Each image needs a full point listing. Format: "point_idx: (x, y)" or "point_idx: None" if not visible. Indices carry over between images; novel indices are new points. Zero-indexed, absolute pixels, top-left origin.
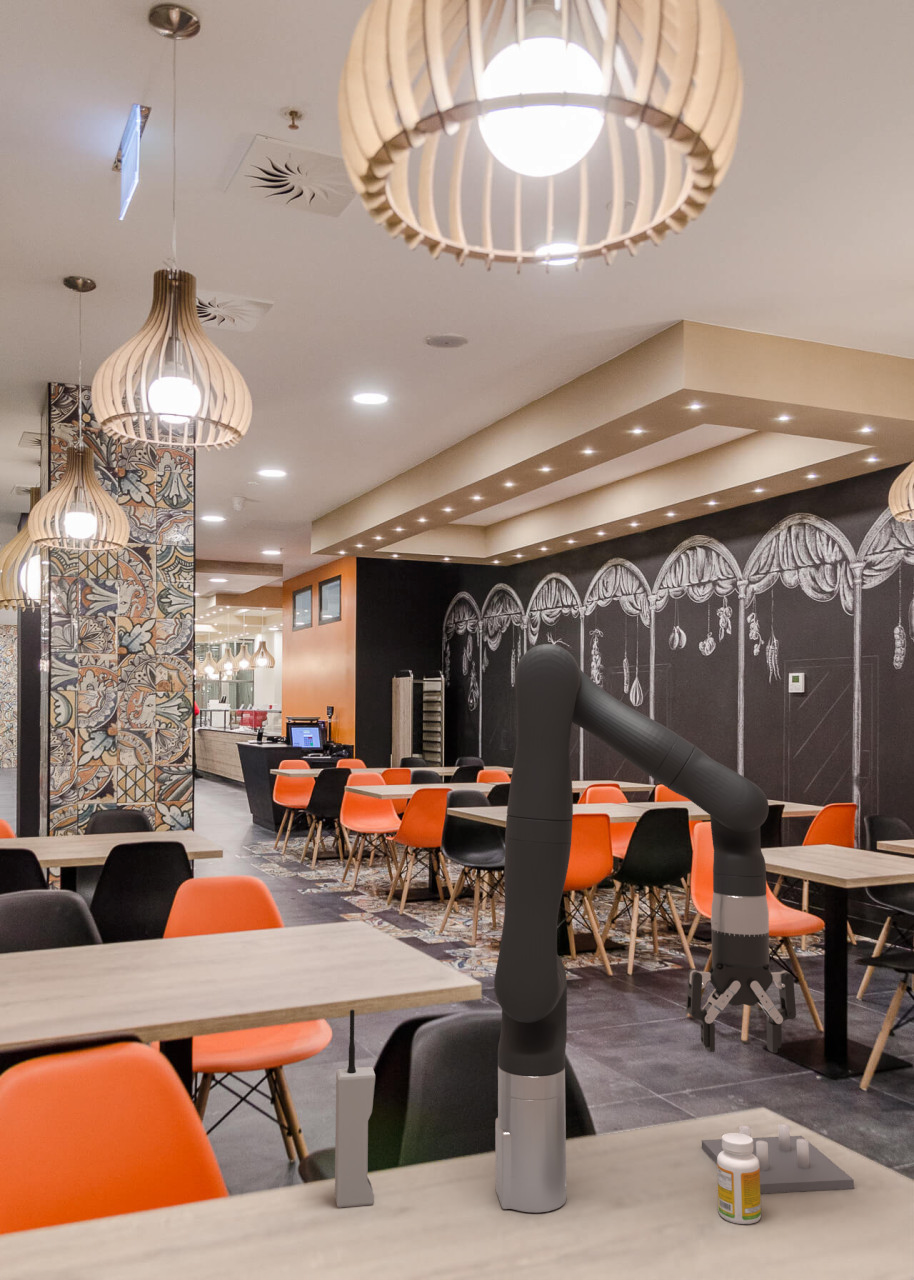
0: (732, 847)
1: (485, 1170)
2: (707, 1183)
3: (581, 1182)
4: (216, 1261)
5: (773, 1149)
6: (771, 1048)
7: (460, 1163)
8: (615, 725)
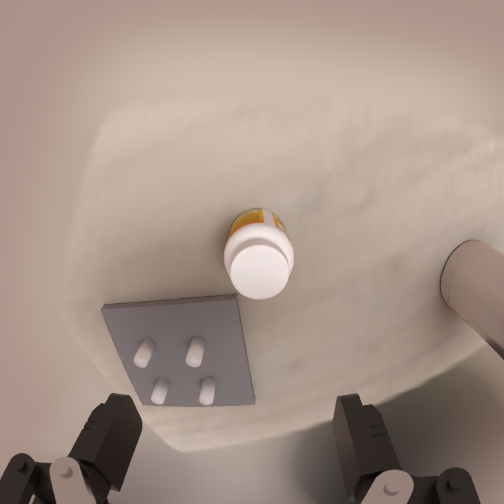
0: None
1: None
2: (274, 321)
3: (414, 315)
4: None
5: (176, 382)
6: (127, 406)
7: None
8: None
